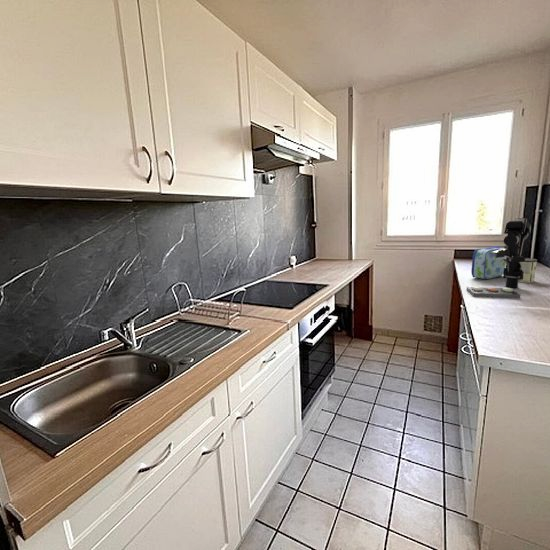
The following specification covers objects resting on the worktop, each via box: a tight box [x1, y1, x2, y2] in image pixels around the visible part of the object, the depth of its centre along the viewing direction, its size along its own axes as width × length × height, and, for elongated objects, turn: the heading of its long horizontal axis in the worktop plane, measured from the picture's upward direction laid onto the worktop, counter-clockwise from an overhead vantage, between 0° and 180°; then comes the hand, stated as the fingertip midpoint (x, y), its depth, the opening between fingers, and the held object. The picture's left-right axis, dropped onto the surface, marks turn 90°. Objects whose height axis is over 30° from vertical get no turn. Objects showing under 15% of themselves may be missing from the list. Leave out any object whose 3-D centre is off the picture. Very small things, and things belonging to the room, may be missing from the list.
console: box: [466, 286, 522, 300], centre depth 168 cm, size 14×21×3 cm, turn 72°
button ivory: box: [472, 286, 483, 291], centre depth 170 cm, size 4×4×3 cm
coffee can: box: [518, 257, 538, 283], centre depth 198 cm, size 10×10×14 cm
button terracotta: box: [486, 286, 498, 292], centre depth 168 cm, size 4×4×3 cm
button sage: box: [502, 287, 514, 292], centre depth 166 cm, size 4×4×3 cm
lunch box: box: [471, 245, 506, 280], centre depth 210 cm, size 26×11×21 cm, turn 118°
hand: (509, 272), depth 170 cm, fingers closed
